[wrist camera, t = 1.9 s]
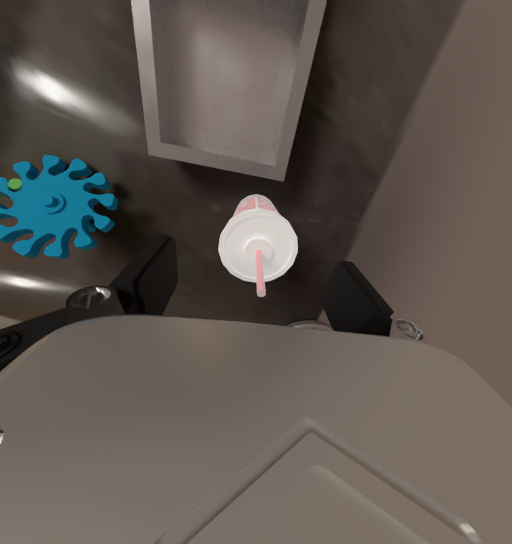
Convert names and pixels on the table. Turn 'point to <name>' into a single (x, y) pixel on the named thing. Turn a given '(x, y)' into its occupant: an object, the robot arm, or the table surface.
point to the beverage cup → (257, 242)
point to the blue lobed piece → (54, 207)
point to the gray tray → (225, 79)
